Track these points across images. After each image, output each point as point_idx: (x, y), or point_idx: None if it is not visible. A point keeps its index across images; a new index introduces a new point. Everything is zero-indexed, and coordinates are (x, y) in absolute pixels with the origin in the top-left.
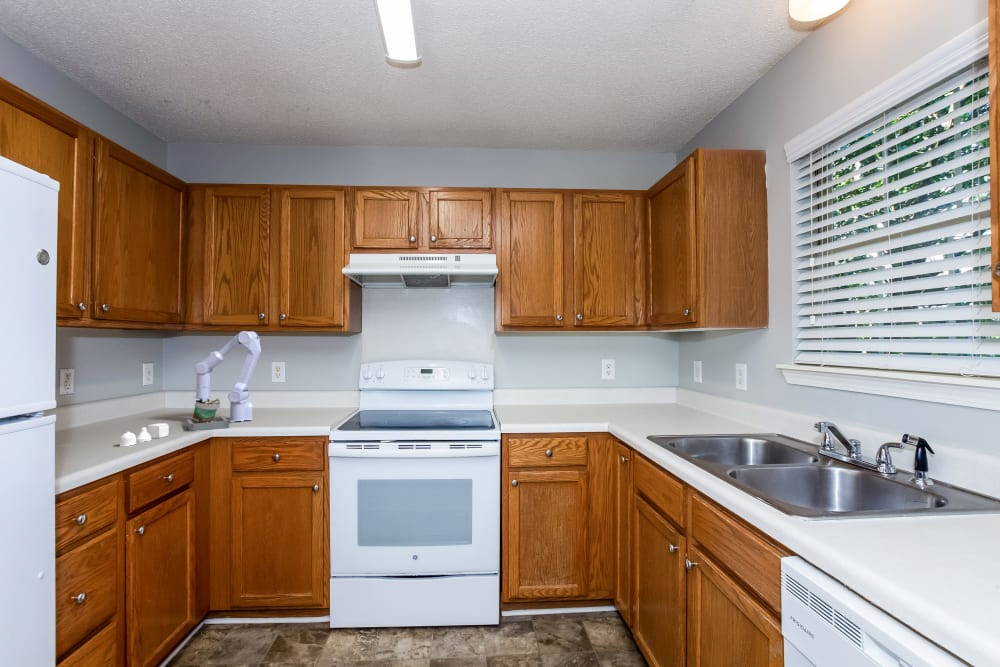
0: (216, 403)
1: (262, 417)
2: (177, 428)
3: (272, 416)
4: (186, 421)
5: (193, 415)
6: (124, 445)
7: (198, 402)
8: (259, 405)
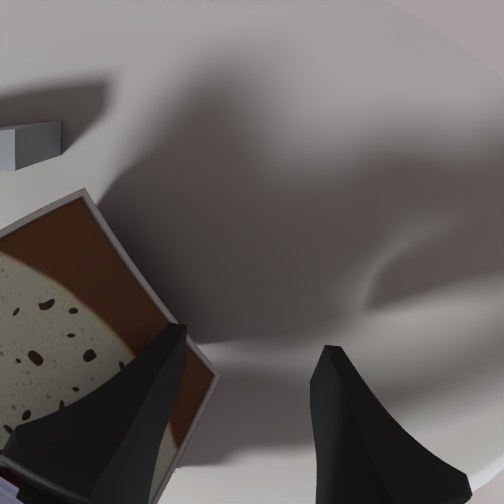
0: None
1: (181, 488)
2: (5, 57)
3: (186, 500)
4: (26, 126)
5: (18, 223)
6: None
7: (4, 451)
8: (483, 479)
